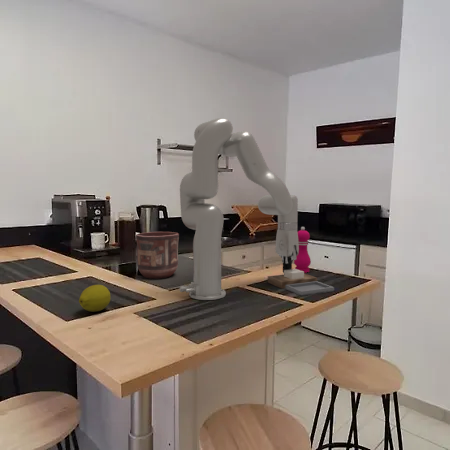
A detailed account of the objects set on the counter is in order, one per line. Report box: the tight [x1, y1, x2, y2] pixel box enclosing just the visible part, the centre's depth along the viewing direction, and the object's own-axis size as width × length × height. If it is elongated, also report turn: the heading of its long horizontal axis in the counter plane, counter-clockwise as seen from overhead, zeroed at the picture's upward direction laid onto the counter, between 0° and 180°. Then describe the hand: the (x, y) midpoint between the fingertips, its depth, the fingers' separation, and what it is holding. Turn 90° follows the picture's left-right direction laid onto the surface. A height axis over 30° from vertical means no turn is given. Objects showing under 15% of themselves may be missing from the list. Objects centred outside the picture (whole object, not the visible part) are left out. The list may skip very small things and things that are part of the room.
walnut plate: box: [267, 273, 318, 289], centre depth 146 cm, size 16×10×2 cm, turn 114°
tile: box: [283, 268, 304, 279], centre depth 145 cm, size 6×6×2 cm
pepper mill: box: [293, 226, 312, 274], centre depth 166 cm, size 7×7×20 cm
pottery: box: [135, 231, 180, 280], centre depth 160 cm, size 18×18×18 cm
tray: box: [284, 280, 335, 297], centre depth 136 cm, size 14×10×2 cm
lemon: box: [78, 284, 112, 313], centre depth 113 cm, size 11×8×8 cm
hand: (287, 272), depth 150 cm, fingers closed
